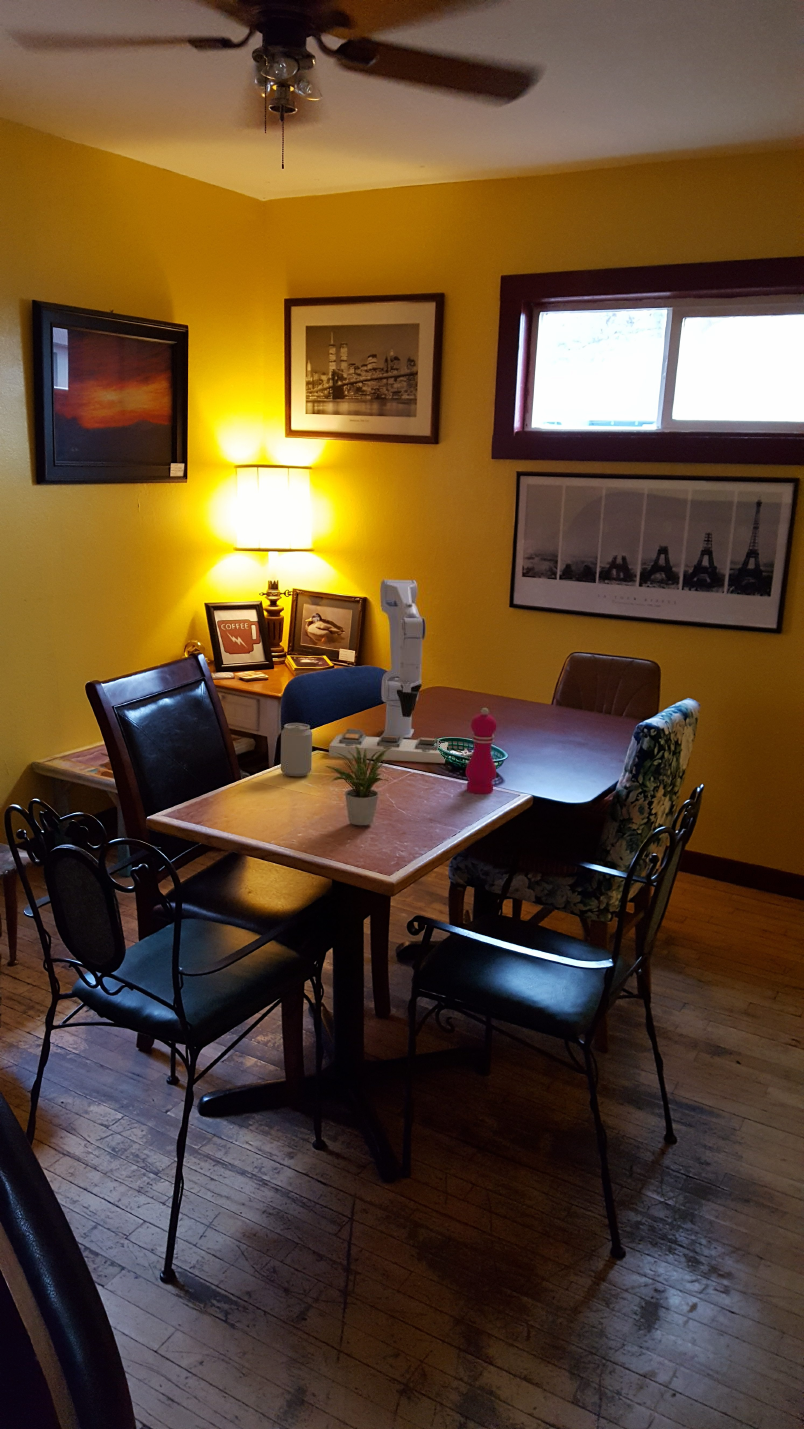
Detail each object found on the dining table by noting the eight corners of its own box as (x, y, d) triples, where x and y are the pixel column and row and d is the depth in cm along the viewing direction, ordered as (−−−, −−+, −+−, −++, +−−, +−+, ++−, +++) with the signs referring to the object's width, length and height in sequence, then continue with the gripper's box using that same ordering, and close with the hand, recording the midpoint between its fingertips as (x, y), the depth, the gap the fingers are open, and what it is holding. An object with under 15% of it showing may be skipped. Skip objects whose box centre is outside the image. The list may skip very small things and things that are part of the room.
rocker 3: (421, 741, 271) (421, 737, 271) (436, 742, 271) (436, 738, 271) (419, 743, 265) (419, 739, 265) (434, 744, 265) (434, 740, 265)
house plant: (360, 804, 227) (363, 733, 223) (409, 819, 218) (412, 745, 215) (316, 818, 216) (317, 744, 212) (365, 835, 207) (367, 757, 204)
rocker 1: (347, 732, 273) (347, 728, 273) (362, 733, 273) (362, 729, 273) (343, 741, 268) (343, 737, 267) (358, 742, 267) (358, 738, 267)
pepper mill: (496, 795, 238) (501, 712, 233) (465, 794, 238) (470, 710, 233) (494, 786, 245) (499, 705, 240) (463, 785, 245) (468, 703, 240)
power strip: (337, 745, 277) (337, 731, 276) (490, 756, 272) (491, 742, 271) (329, 756, 265) (329, 741, 264) (489, 768, 261) (490, 753, 260)
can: (275, 775, 246) (276, 726, 244) (287, 767, 253) (288, 720, 251) (304, 778, 244) (305, 730, 242) (315, 771, 251) (317, 723, 249)
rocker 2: (384, 738, 272) (384, 734, 272) (399, 739, 272) (399, 735, 272) (381, 740, 266) (381, 736, 266) (396, 741, 266) (396, 737, 266)
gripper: (398, 657, 276) (396, 706, 279) (392, 667, 262) (389, 718, 265) (424, 659, 275) (422, 708, 278) (419, 668, 261) (416, 720, 264)
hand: (408, 713), depth 271 cm, fingers open, 7 cm apart
